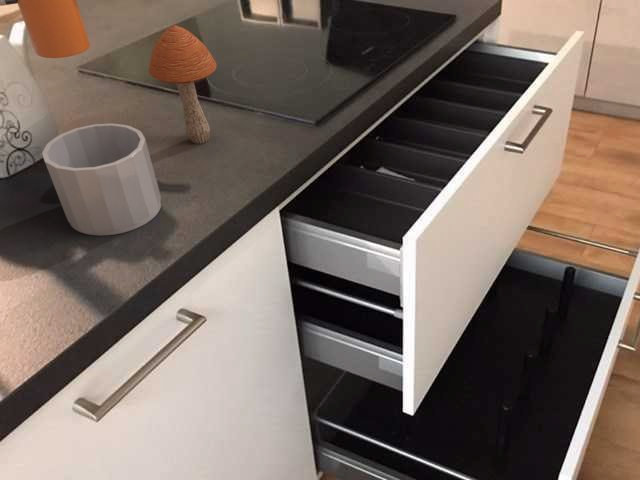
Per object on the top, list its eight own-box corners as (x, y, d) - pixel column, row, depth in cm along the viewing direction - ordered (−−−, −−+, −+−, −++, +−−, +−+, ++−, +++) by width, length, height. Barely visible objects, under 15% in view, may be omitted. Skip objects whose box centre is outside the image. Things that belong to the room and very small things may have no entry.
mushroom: (185, 163, 82) (157, 42, 72) (156, 139, 86) (126, 22, 76) (241, 143, 86) (221, 26, 76) (210, 122, 90) (188, 8, 80)
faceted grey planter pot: (77, 246, 69) (51, 179, 63) (60, 200, 75) (35, 136, 70) (172, 219, 72) (155, 154, 67) (148, 178, 79) (131, 116, 74)
